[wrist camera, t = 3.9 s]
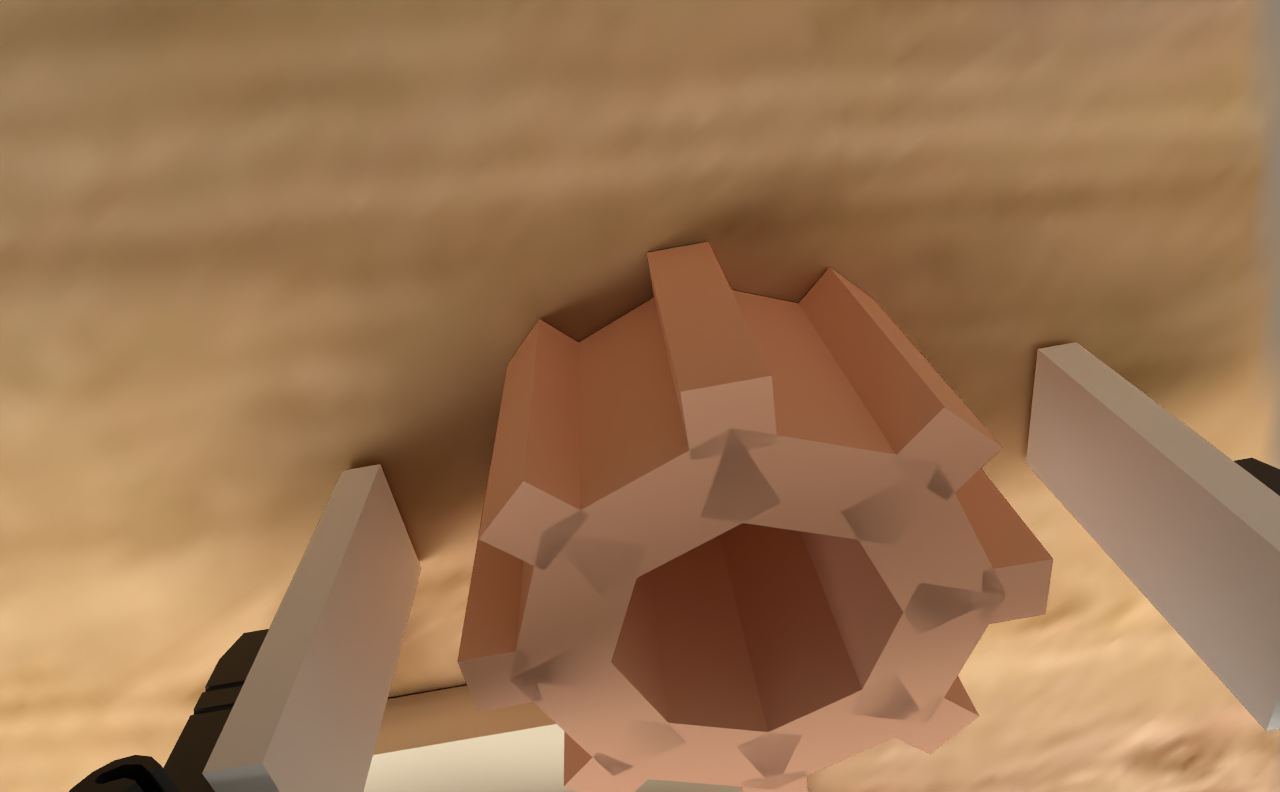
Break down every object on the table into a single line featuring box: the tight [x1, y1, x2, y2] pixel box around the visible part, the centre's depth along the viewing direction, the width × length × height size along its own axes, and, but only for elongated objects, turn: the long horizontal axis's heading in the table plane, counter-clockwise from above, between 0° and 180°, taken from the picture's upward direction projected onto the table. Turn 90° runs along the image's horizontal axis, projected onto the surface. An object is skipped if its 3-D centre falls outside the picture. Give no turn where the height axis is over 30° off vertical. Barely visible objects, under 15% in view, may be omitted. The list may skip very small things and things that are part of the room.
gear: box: [458, 242, 1053, 792], centre depth 14 cm, size 8×8×5 cm
